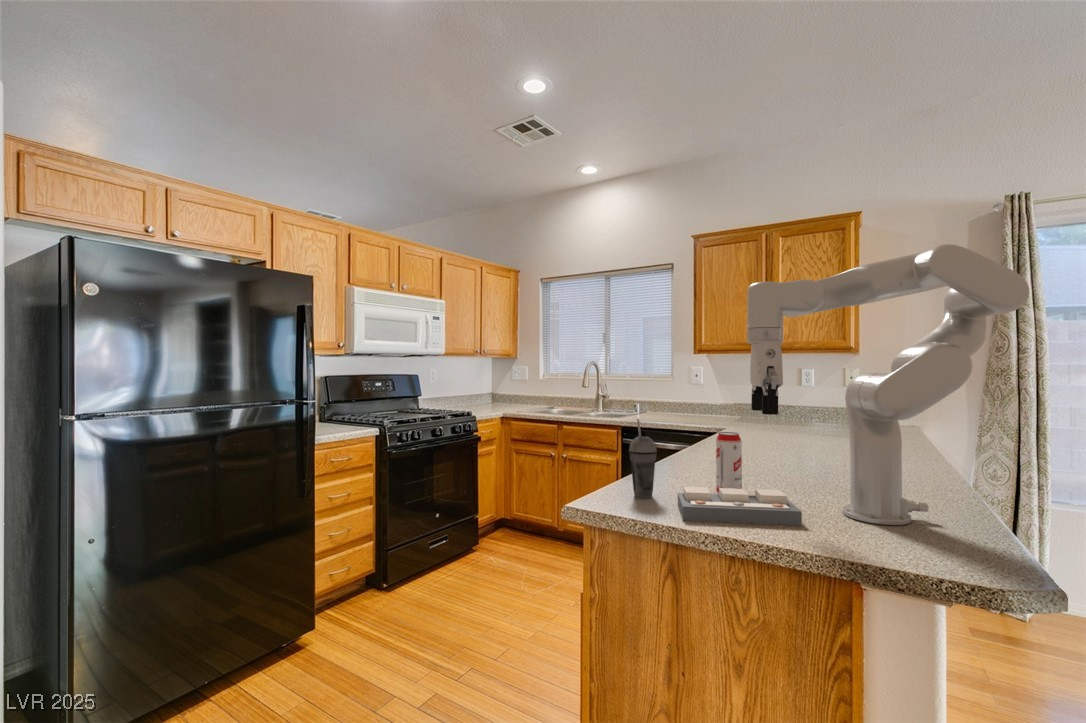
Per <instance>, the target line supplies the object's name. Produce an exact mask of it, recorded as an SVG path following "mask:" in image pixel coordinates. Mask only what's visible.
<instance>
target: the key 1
mask: <svg viewBox="0 0 1086 723" xmlns="http://www.w3.org/2000/svg"><path fill="white" fill-rule="evenodd" d="M683 493H684V499H685V501H709V502H711V494H712V493H711V491H710V489H709V487H704V486H702V487H701V486H699V487H697V486H683Z"/></svg>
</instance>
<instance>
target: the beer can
mask: <svg viewBox="0 0 1086 723" xmlns="http://www.w3.org/2000/svg"><path fill="white" fill-rule="evenodd" d="M717 434H718V435H717V437H716V438H715V457H716V458H715V465H716V466H715V468H716V469H715V470H716V471H715V475H716V476H715V478H716V481H715V482H716V492H717V494H719V488H734V489H743V468H742V467H743V459H742V457H743V456H742V455H743V454H742V452H743V451H742V450H743V449H742V438H741V437H740V433H739V432H734V431H733V432H732V431H720V432H718V433H717Z"/></svg>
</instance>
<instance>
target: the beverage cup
mask: <svg viewBox="0 0 1086 723" xmlns="http://www.w3.org/2000/svg"><path fill="white" fill-rule="evenodd" d="M636 421H637V428H638V429H637V431H638V436H636V437H634V438H633V439H632V440H631V441H630V445H629V449H628V454H629V460H630V466H631V476H632V478H631V479H632V487H633V494H634V498H636V499H640V500H646V499H647V500H648V499H651V498H653V492H654V480H655V479H654V478H655V467H656V465H655V464H656V461H657V453H658V450H657V446H656V443H655V441H654V440H653V438H651V437H650V436H646V435H642V432H641V425H640V419H639V418H636Z"/></svg>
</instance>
